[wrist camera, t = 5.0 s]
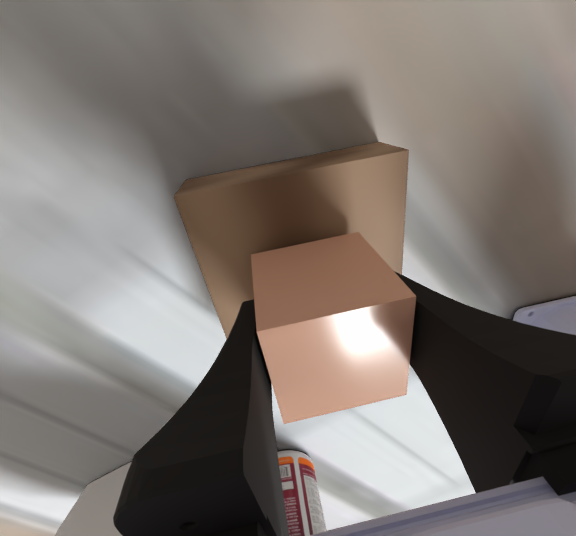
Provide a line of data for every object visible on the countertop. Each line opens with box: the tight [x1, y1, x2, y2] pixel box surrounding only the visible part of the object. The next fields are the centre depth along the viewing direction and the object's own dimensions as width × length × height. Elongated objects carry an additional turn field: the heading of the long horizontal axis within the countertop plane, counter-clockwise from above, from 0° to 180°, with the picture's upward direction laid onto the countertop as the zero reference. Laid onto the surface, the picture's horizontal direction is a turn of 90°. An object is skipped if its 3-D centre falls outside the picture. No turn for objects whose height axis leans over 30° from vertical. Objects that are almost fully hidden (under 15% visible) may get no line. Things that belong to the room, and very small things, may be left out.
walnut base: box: [174, 142, 409, 338], centre depth 16 cm, size 10×10×3 cm
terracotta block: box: [251, 232, 416, 424], centre depth 12 cm, size 5×5×5 cm
